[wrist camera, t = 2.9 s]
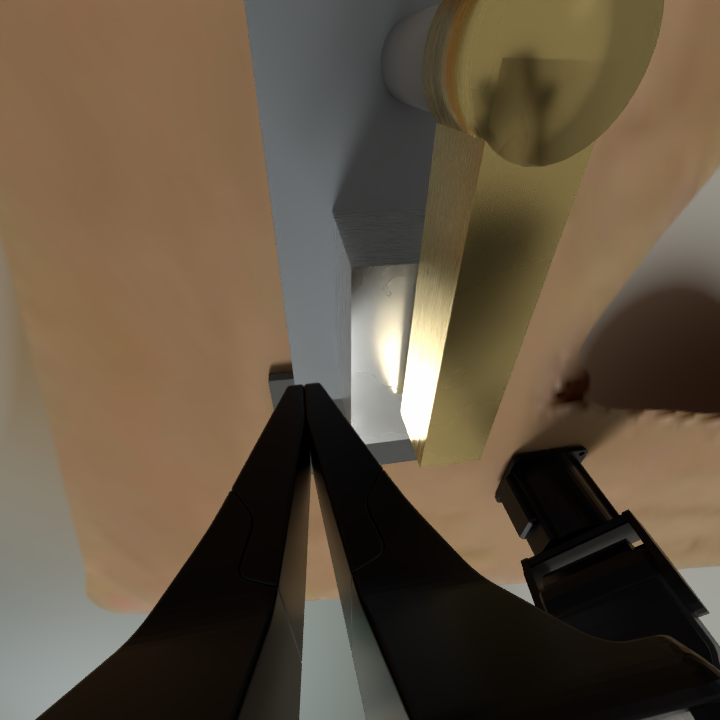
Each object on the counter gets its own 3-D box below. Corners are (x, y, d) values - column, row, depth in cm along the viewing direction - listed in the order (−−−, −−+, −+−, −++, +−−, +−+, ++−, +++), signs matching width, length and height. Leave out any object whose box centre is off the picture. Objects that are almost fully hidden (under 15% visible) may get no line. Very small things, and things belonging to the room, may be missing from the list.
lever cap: (470, 206, 13) (536, 256, 10) (440, 358, 18) (479, 430, 14) (331, 211, 12) (351, 267, 9) (336, 368, 17) (351, 446, 13)
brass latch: (586, -41, 6) (708, -83, 4) (463, 404, 12) (492, 457, 11) (432, -52, 6) (498, -101, 4) (389, 413, 12) (406, 469, 10)
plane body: (528, -14, 12) (762, -87, 6) (450, 350, 21) (513, 457, 16) (246, -29, 11) (205, -138, 5) (295, 364, 20) (301, 486, 14)
